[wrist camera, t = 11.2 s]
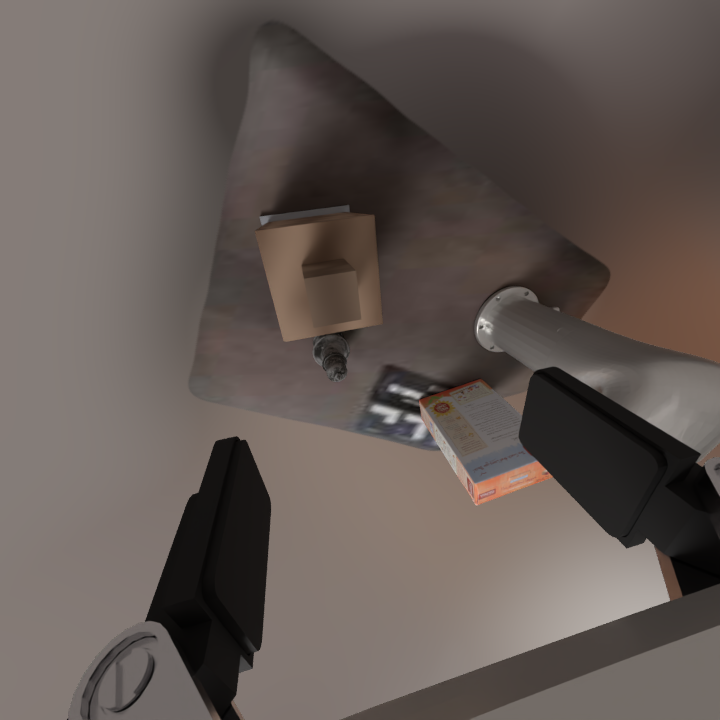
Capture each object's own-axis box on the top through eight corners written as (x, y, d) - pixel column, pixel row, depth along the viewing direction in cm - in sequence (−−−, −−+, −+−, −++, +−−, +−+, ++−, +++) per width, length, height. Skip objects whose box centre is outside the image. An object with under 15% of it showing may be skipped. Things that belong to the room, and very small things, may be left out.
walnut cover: (345, 211, 40) (395, 217, 21) (354, 288, 45) (400, 347, 26) (267, 222, 38) (245, 237, 20) (286, 299, 44) (282, 370, 25)
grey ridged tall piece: (351, 349, 50) (367, 386, 40) (321, 363, 51) (328, 404, 40) (337, 320, 48) (350, 352, 37) (305, 336, 48) (309, 372, 37)
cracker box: (421, 420, 62) (475, 508, 44) (417, 398, 59) (474, 483, 41) (482, 399, 63) (559, 478, 45) (481, 377, 60) (564, 451, 42)
